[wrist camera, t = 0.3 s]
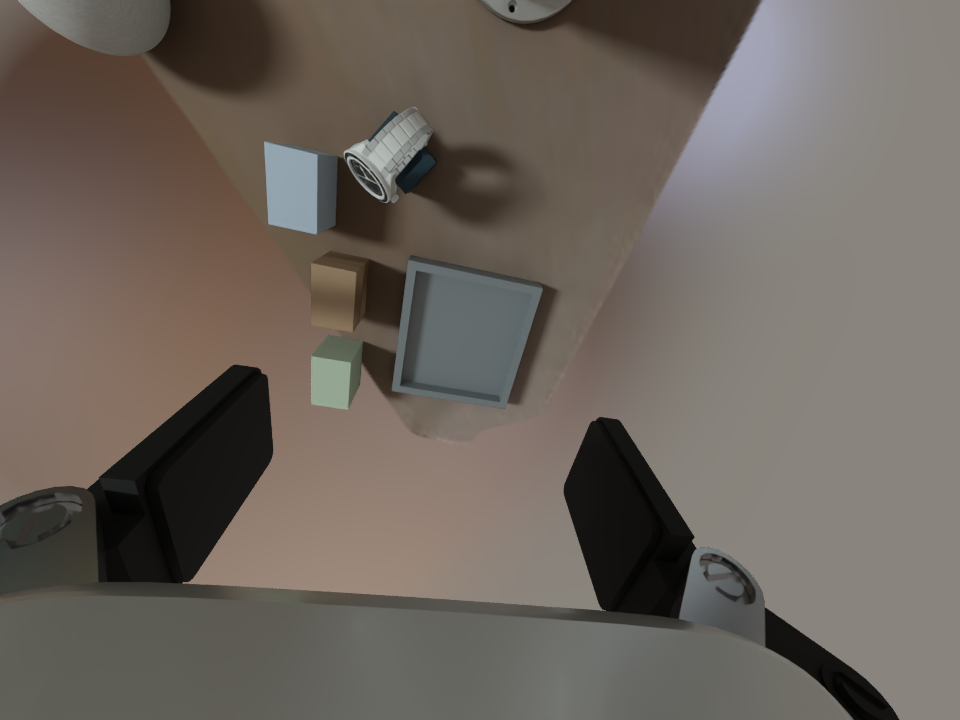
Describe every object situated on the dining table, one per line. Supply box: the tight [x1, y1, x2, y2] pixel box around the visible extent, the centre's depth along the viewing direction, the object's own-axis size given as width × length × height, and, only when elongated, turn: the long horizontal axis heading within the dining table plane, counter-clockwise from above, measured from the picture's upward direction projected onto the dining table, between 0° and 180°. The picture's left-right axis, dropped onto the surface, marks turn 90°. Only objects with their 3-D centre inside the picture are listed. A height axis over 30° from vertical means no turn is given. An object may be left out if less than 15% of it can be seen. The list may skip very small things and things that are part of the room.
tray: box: [392, 255, 543, 409], centre depth 47 cm, size 18×16×2 cm
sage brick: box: [311, 335, 363, 410], centre depth 46 cm, size 7×4×6 cm, turn 167°
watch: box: [344, 107, 438, 203], centre depth 33 cm, size 6×8×11 cm
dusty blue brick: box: [264, 142, 338, 234], centre depth 36 cm, size 7×4×6 cm, turn 167°
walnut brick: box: [311, 251, 369, 332], centre depth 41 cm, size 7×4×6 cm, turn 167°
